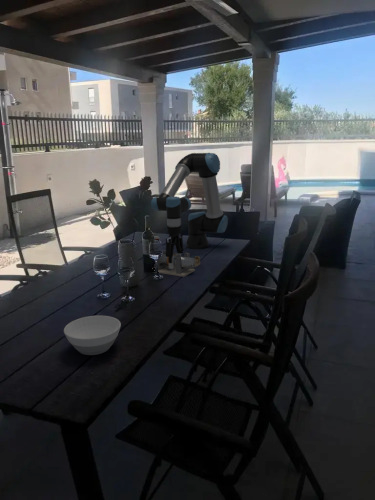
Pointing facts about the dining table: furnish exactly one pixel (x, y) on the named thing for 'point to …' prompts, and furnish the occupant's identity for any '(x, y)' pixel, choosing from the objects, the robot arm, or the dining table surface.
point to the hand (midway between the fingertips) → (175, 266)
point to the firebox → (177, 270)
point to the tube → (185, 261)
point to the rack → (197, 260)
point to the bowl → (92, 334)
